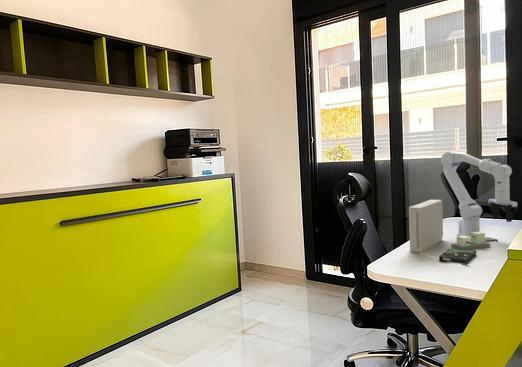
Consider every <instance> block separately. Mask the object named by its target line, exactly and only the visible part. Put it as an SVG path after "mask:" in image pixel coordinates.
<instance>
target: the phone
mask: <svg viewBox="0 0 522 367" xmlns="http://www.w3.org/2000/svg"><path fill="white" fill-rule="evenodd" d="M498 241H499V240H498V239H497V238H493V237H490V236H488V237H486V236H485V242H486V243H489V242H491V243H492V242H497V243H498Z"/></svg>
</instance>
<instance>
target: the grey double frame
mask: <svg viewBox="0 0 522 367" xmlns="http://www.w3.org/2000/svg"><path fill="white" fill-rule="evenodd" d="M451 248H452V249H459V250H470V251H472V250H478V249H479V250H480V249H486V248H491V243H489V242H485V244H479V245H476V244H471V246H460V245H457V242H454V243H451Z"/></svg>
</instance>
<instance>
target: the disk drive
mask: <svg viewBox="0 0 522 367" xmlns="http://www.w3.org/2000/svg"><path fill="white" fill-rule="evenodd" d="M476 256H477V251H476V250H459V249H456V248H453V247H451V248H448V249H447V250H446V251H445V252H443V253H442V254H440V255H439V256H438V262H441V263H448V264H450V263H456V264H457V263H458V264H461V265H463V266H467V265H468V264H469V262H470V261H471V260H472V259H474V258H475V257H476Z"/></svg>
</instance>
